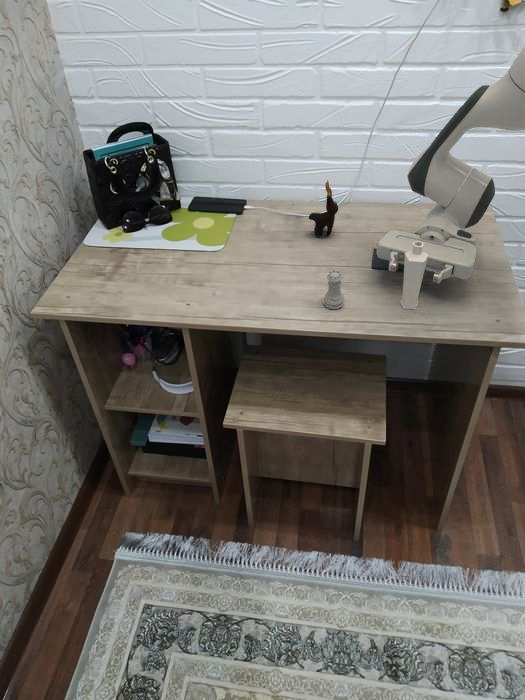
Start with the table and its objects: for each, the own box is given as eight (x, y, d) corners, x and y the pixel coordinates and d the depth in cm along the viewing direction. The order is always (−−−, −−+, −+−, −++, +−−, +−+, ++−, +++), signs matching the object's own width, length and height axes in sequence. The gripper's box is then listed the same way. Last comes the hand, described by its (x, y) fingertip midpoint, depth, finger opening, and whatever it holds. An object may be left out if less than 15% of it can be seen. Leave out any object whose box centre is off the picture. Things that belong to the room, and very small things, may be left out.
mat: (416, 252, 135) (416, 251, 135) (415, 272, 130) (416, 270, 129) (373, 249, 137) (373, 248, 137) (371, 269, 132) (371, 267, 131)
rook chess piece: (343, 311, 121) (345, 280, 116) (322, 309, 122) (323, 279, 116) (344, 298, 124) (346, 267, 119) (324, 296, 125) (325, 266, 120)
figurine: (336, 245, 140) (338, 188, 130) (307, 244, 141) (307, 188, 131) (338, 222, 147) (341, 167, 137) (311, 221, 148) (311, 167, 138)
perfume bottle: (406, 313, 119) (415, 253, 109) (394, 302, 122) (402, 242, 112) (425, 307, 121) (435, 246, 110) (412, 295, 124) (422, 236, 113)
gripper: (390, 217, 126) (366, 248, 117) (485, 238, 118) (467, 273, 109) (387, 242, 130) (364, 274, 121) (479, 263, 122) (461, 299, 113)
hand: (413, 274), depth 115 cm, fingers open, 8 cm apart
